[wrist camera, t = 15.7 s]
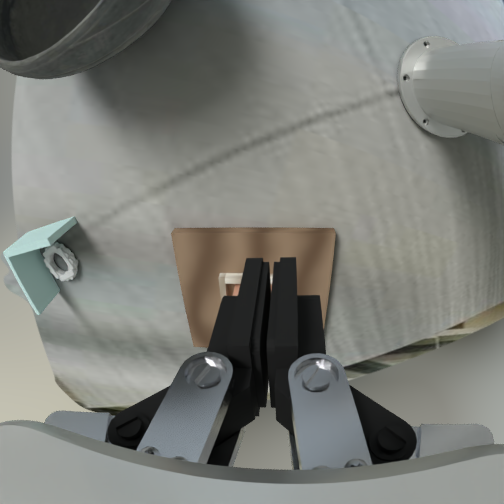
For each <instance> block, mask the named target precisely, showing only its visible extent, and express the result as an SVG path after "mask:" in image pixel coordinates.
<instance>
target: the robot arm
mask: <svg viewBox="0 0 504 504" xmlns="http://www.w3.org/2000/svg"><path fill="white" fill-rule="evenodd" d="M424 44H425V46H424ZM403 76H404V77H405V80H403ZM397 82H398V90H399V93H400V97H401V100H402V102H403V104H404V106H405V108H406V110H407V112H408V113H409V115H410V116H411V117H412V119H413V120H414V121H415V122H416V123H417V124H418V125H419V126H421V127H422V128H423V129H424V130H426V131H428V132H430V133H432V134H434V135H437V136H440V137H445V138H456V137H460V136H463V135H465V134H467V133H471V134H474V135H477V136H480V137H483V138H485V139H488V140H491V141H493V142H496V143H499V144H501V145H504V40H497V41H486V42H477V43H468V44H461V45H459V44H457V43H456V42H454V41H452V40H450V39H447V38H444V37H439V36H429V37H425V38H421V39H419V40H417V41H415V42H413V43H412V44H411V45H409V46H408V47H407V49H406V50H405V51H404V53H403V55H402V57H401V59H400V62H399V66H398V72H397ZM423 120H425V121H424V123H423ZM268 381H269V387H270V400H271V407H272V408H276V420H277V421H278V422H279V423H281V425H283V426H284V427H285V428H286V429H287V430H288V439H289V446H290V454H291V462H292V470H272V469H250V468H237V467H233V465H234V462H235V459H236V456H237V453H238V450H239V448H240V444H241V442H242V439H243V435H244V433H245V426H246V425H247V424H249V423H250V422H252V421H253V420H254V419H255V416H259V410H260V407H266V403H267V392H268ZM0 504H504V444H494V439H493V435H492V433H491V432H490V430H489V429H488V428H487V427H485V426H483V425H479V424H449V425H448V424H421V425H420V427H413V426H410V425H409V424H408V423H407V422H406V421H404V420H402V419H401V418H399V417H398V416H396V415H395V414H393V413H391V412H390V411H388V410H386V409H385V408H383V407H382V406H381V405H379V404H378V403H376V402H374V401H373V400H371V399H370V398H368V397H367V396H365V395H364V394H362V393H361V392H359V391H358V390H356V389H355V388H353V387H352V386H350V385H349V383H348V380H347V377H346V373H345V370H344V368H343V366H342V365H341V363H340V362H339V361H337V360H336V359H335V358H333V357H331V356H329V355H326V350H325V339H324V328H323V319H322V309H321V300H320V295H297V265H296V257H280V262H274V267H273V278H272V290H271V280H270V265H269V262H263V258H246V262H245V266H244V271H243V275H242V279H241V284H240V288H239V292H238V296H223V298H222V301H221V304H220V307H219V311H218V314H217V318H216V321H215V325H214V328H213V332H212V335H211V339H210V342H209V346H208V349H207V352H203V353H198V354H196V355H193V356H191V357H190V358H188V359H187V360H186V361H185V362H184V363H183V364H182V366H181V367H180V369H179V371H178V373H177V375H176V376H175V378H174V380H173V382H172V384H171V385H170V386H169V387H167V388H165V389H163V390H161V391H159V392H158V393H156V394H154V395H152V396H150V397H148V398H146V399H144V400H143V401H141V402H139V403H137V404H135V405H133V406H131V407H129V408H127V409H125V410H123V411H121V412H120V413H118V414H117V415H115V416H111V415H110V413H94V412H93V413H92V412H73V411H56V412H54V413H52V414H50V415H49V416H48V417H47V418H46V420H45V422H44V423H41V422H36V421H29V420H14V421H13V420H12V421H6V422H2V423H0Z"/></svg>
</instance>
